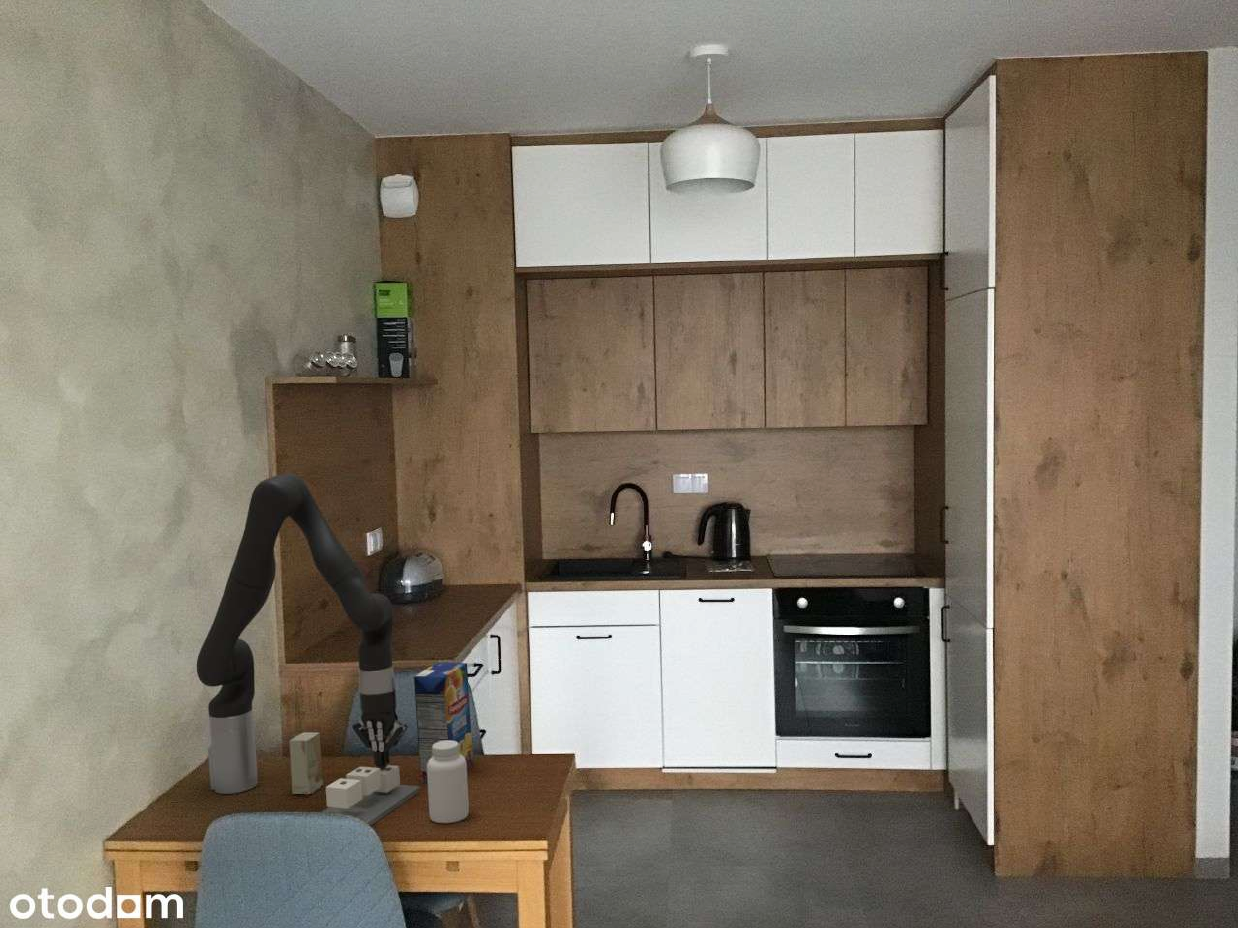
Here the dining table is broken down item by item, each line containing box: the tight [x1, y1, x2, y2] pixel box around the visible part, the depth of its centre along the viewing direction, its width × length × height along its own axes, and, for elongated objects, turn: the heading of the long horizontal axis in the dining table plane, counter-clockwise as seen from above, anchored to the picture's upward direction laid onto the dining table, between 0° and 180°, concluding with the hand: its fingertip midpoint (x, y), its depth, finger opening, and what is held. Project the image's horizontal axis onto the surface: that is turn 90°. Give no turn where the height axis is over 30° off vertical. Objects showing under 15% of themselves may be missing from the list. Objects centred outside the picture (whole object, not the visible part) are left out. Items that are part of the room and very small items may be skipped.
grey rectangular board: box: [321, 784, 421, 826], centre depth 217 cm, size 13×22×1 cm, turn 160°
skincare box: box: [289, 731, 324, 795], centre depth 229 cm, size 6×4×12 cm
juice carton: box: [413, 662, 474, 784], centre depth 234 cm, size 12×8×24 cm, turn 164°
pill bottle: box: [427, 740, 470, 824], centre depth 209 cm, size 8×8×15 cm
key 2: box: [345, 766, 381, 796], centre depth 216 cm, size 5×5×4 cm
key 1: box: [325, 778, 362, 809], centre depth 210 cm, size 5×5×4 cm
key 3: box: [373, 764, 401, 793], centre depth 223 cm, size 5×5×4 cm
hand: (382, 766), depth 223 cm, fingers closed
